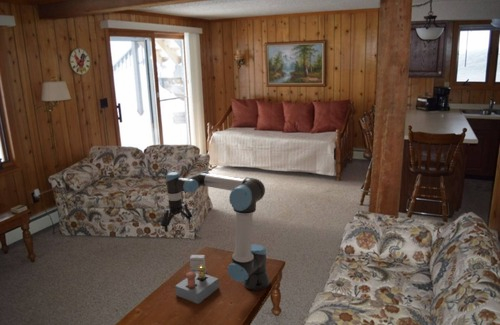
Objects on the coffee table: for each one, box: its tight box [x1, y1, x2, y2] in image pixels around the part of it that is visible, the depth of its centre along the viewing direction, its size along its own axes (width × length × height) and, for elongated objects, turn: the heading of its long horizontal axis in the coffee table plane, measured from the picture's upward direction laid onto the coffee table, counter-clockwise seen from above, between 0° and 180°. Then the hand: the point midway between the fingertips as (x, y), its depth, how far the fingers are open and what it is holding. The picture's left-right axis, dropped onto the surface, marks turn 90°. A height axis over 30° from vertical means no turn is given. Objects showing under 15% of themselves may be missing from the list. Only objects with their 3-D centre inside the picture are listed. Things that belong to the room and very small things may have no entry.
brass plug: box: [197, 264, 207, 282], centre depth 232 cm, size 5×5×9 cm
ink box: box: [189, 254, 207, 274], centre depth 248 cm, size 9×5×12 cm, turn 84°
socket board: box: [174, 271, 220, 305], centre depth 230 cm, size 16×18×6 cm
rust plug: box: [185, 271, 196, 289], centre depth 225 cm, size 5×5×9 cm
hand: (178, 232), depth 243 cm, fingers open, 13 cm apart
